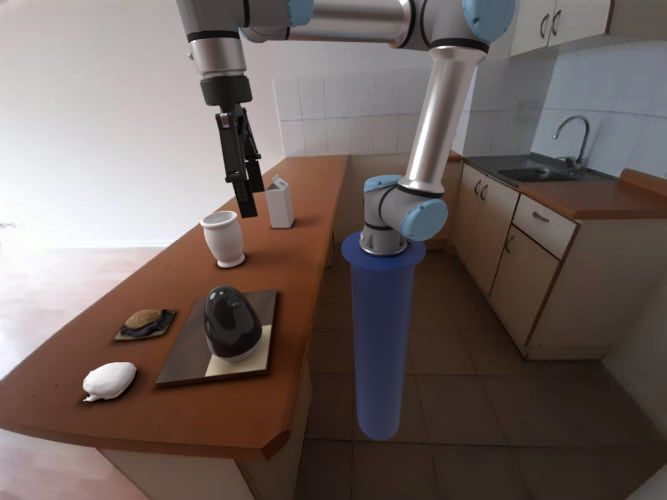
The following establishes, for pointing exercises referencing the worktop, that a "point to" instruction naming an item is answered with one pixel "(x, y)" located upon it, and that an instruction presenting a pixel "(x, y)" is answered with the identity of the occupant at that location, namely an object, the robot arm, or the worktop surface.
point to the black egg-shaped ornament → (230, 324)
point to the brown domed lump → (145, 324)
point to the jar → (224, 237)
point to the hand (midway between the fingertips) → (254, 203)
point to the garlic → (109, 380)
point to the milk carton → (279, 203)
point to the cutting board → (202, 366)
